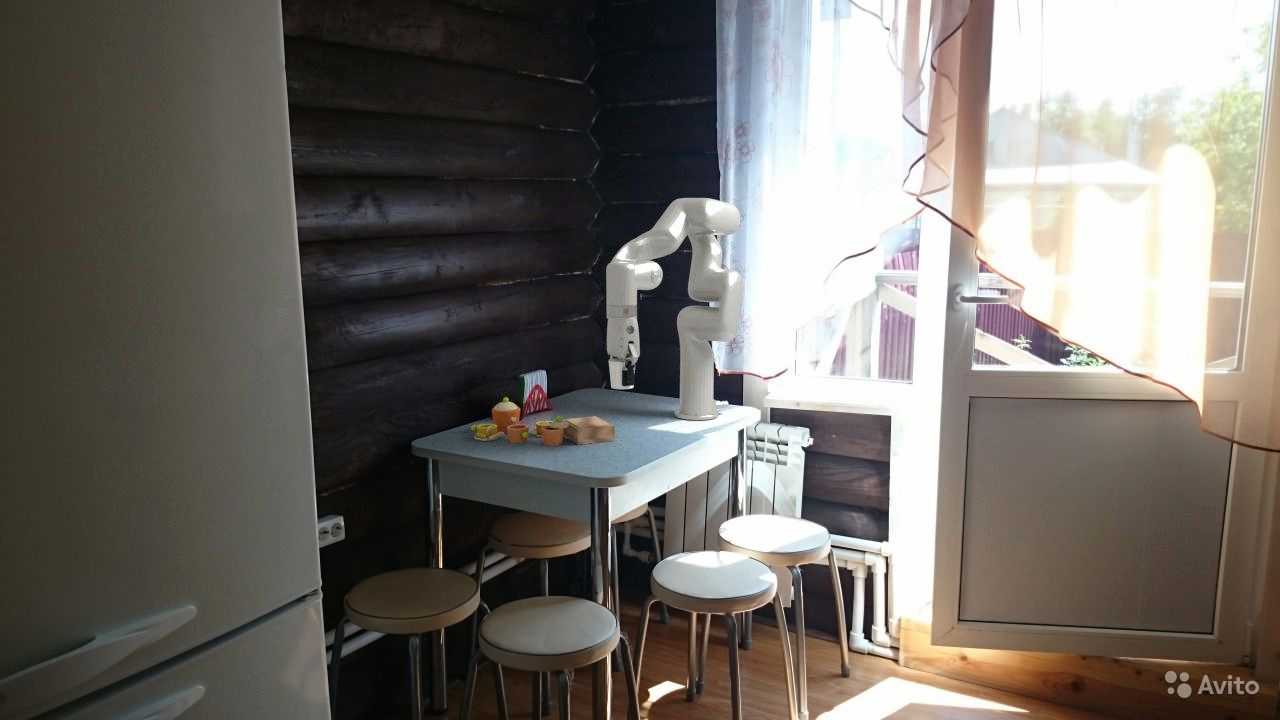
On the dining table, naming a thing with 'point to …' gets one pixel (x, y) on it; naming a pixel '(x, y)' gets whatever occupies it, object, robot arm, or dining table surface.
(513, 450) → the dining table surface
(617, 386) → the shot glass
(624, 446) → the dining table surface
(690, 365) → the robot arm
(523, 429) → the toy tea set
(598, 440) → the riser
